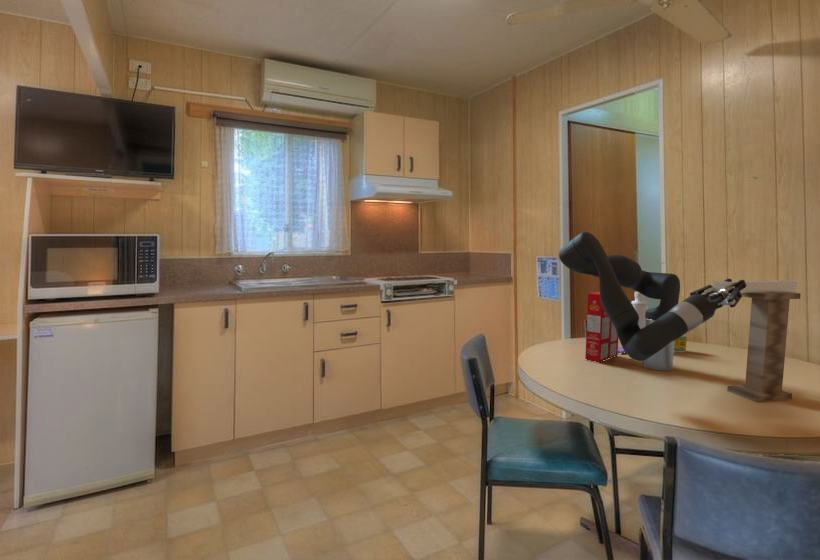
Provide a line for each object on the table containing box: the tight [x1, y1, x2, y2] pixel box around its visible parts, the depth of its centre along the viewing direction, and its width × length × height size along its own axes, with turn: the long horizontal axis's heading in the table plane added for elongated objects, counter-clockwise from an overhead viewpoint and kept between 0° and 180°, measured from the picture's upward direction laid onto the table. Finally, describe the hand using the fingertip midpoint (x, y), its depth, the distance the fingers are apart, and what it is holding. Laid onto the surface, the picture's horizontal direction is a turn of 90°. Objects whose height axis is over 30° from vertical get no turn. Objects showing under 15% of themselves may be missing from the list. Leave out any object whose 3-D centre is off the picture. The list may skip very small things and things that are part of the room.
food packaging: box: [584, 291, 619, 363], centre depth 164 cm, size 15×5×25 cm, turn 130°
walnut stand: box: [726, 292, 801, 403], centre depth 125 cm, size 12×9×30 cm
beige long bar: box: [712, 279, 798, 295], centre depth 123 cm, size 24×4×3 cm, turn 101°
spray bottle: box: [630, 291, 649, 329], centre depth 180 cm, size 7×7×25 cm
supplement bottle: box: [674, 333, 688, 353], centre depth 176 cm, size 5×5×10 cm
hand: (737, 282), depth 122 cm, fingers closed on beige long bar, 3 cm apart
